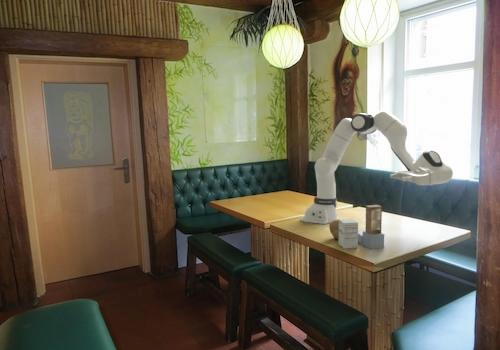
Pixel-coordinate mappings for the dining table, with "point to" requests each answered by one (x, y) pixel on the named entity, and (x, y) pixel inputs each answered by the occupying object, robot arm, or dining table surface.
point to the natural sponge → (334, 228)
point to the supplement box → (348, 233)
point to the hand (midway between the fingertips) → (396, 177)
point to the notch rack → (371, 239)
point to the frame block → (373, 219)
